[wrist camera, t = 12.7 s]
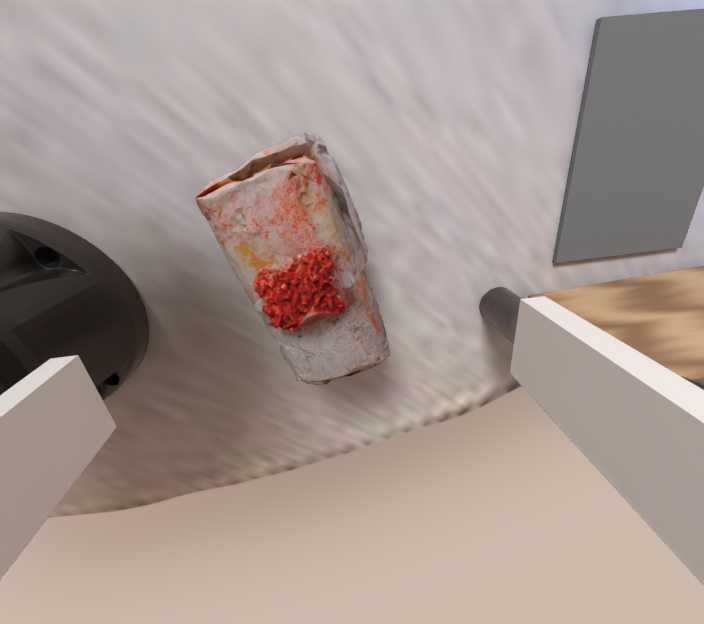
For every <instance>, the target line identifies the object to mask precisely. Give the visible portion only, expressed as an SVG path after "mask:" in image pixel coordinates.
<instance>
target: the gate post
mask: <svg viewBox="0 0 704 624" xmlns="http://www.w3.org/2000/svg"><path fill="white" fill-rule="evenodd" d="M520 299H522V298H520V297H519V296H517V295H516V294H514V293H513V292H511V291H510V290H508V289H507V288H503V287H497V288H494V289H491V290H490V291H488V292H487V293H486V294H485V295H484V296H483V297H482V299H481V302H480V312H481V314H482V315H483V316H484V317H485V318H486V319H487V320H488V321H490V322H491V323H492V324H493V325H494V326H495V327H496V328H497V329H498V330H499V331H500V332H501V333H503V334H504V335H505V336H506V337H507V338H508V339H509V340H510V341H511V342H512V343H513V344H514V340H515V333H516V326H517V319H518V312H519V305H520Z"/></svg>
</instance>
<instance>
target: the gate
mask: <svg viewBox="0 0 704 624" xmlns="http://www.w3.org/2000/svg"><path fill="white" fill-rule="evenodd" d="M541 296H545V297H547V298H549V299H550V300H552V301H554V302H555V303H557V304H559V305H560V306H562V307H564V308H566V309H567V310H569V311H571V312H572V313H574V314H576V315H577V316H579V317H581V318H582V319H584V320H586V321H588V322H589V323H591V324H593V325H594V326H596V327H598V328H599V329H601V330H603V331H604V332H606V333H608V334H610V335H611V336H613V337H615V338H616V339H618V340H620V341H621V342H623V343H625V344H627V345H628V346H630V347H632V348H633V349H635V350H637V351H638V352H640V353H642V354H643V355H645V356H647V357H649V358H650V359H652V360H654V361H655V362H657V363H659V364H660V365H662V366H664V367H665V368H667V369H669V370H671V371H672V372H674V373H676V374H677V375H679V376H683V377H685V378H688V379H690V380H693V381H695V382H698V383H701V384H703V385H704V266H701V267H695V268H689V269H683V270H677V271H671V272H665V273H660V274H654V275H648V276H642V277H636V278H630V279H624V280H618V281H612V282H607V283H601V284H595V285H589V286H583V287H577V288H571V289H565V290H559V291H553V292H548V293H542V294H536V295H530V296H529V297H528V298H533V297H541Z"/></svg>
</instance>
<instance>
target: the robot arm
mask: <svg viewBox="0 0 704 624" xmlns="http://www.w3.org/2000/svg"><path fill="white" fill-rule="evenodd" d="M147 343H148V322H147V317H146V313H145V310H144V307H143V304H142V302H141V300H140V297H139V296H138V294H137V292H136V290H135V288H134V287H133V285H132V284H131V282H130V281H129V280H128V278H127V277H126V276H125V274H124V273H123V272H122V271H121V270H120V269H119V267H118V266H117V265H116V264H115V263H114V262H113V261H112V260H111V259H110V258H108V257H107V256H106V255H105V254H104V253H103V252H101V251H100V250H99V249H97V248H96V247H95V246H94V245H92V244H91V243H89V242H88V241H86V240H85V239H83V238H81V237H80V236H78V235H76V234H74V233H72V232H70V231H69V230H67V229H64V228H62V227H60V226H58V225H55V224H53V223H50V222H47V221H44V220H41V219H38V218H34V217H31V216H26V215H22V214H16V213H8V212H0V579H1V578H2V577H3V576H4V574H5V573H6V572H7V571H8V569H9V568H10V567H11V565H12V564H13V563H14V561H15V560H16V559H17V557H18V556H19V554H20V553H21V552H22V551H23V549H24V548H25V547H26V546H27V544H28V543H29V542H30V540H31V539H32V538H33V536H34V535H35V534H36V532H37V531H38V530H39V529H40V527H41V526H42V524H43V523H44V522H45V521H46V519H47V518H48V517H49V515H50V514H51V513H52V511H53V510H54V509H55V508H56V506H57V505H58V504H59V502H60V501H61V500H62V498H63V497H64V496H65V494H66V493H67V492H68V490H69V489H70V488H71V487H72V485H73V484H74V483H75V481H76V480H77V479H78V477H79V476H80V475H81V473H82V472H83V471H84V469H85V468H86V467H87V466H88V464H89V463H90V462H91V460H92V459H93V458H94V456H95V455H96V454H97V452H98V451H99V450H100V448H101V447H102V446H103V445H104V443H105V442H106V441H107V439H108V438H109V437H110V435H111V434H112V433H113V431H114V430H115V429H116V427H117V426H116V424H115V422H114V420H113V419H112V417H111V415H110V413H109V411H108V409H107V407H106V406H105V404H104V402H103V400H104V399H106V398H107V397H109V396H110V395H111V394H113V393H114V392H115V391H116V390H118V389H119V388H120V387H121V386H122V385H123V383H124V382H125V381H126V380H127V379H128V378H129V377H130V375H131V374H132V373H133V372H134V371H135V370H136V368H137V367H138V366H139V364H140V363H141V361H142V359H143V357H144V354H145V352H146V348H147ZM510 374H511V375H512V376H513V377H514V378H515V379H516V380H517V381H518V382H519V384H520V385H521V386H522V387H523V388H524V389H525V390H526V391H527V392H528V393H529V395H531V397H532V398H533V399H534V400H535V401H536V402H537V403H538V404H539V406H540V407H541V408H542V409H543V410H544V411H545V412H546V413H547V414H548V415H549V416H550V418H551V419H552V420H553V421H554V422H555V423H556V424H557V425H558V426H559V427H560V428H561V430H562V431H563V432H564V433H565V434H566V435H567V436H568V437H569V438H570V439H571V441H572V442H573V443H574V444H575V445H576V446H577V447H578V448H579V449H580V450H581V452H582V453H583V454H584V455H585V456H586V457H587V458H588V459H589V460H590V461H591V463H592V464H593V465H594V466H595V467H596V468H597V469H598V470H599V471H600V473H601V474H602V475H603V476H604V477H605V478H606V479H607V480H608V481H609V482H610V484H611V485H612V486H613V487H614V488H615V489H616V490H617V491H618V492H619V493H620V494H621V495H622V497H623V498H624V499H625V500H626V501H627V502H628V503H629V504H630V505H631V506H632V508H633V509H634V510H635V511H636V512H637V513H638V514H639V515H640V516H641V518H642V519H643V520H644V521H645V522H646V523H647V524H648V525H649V526H650V527H651V529H652V530H653V531H654V532H655V533H656V534H657V535H658V536H659V537H660V538H661V539H662V541H663V542H664V543H665V544H666V545H667V546H668V547H669V548H670V549H671V551H672V552H673V553H674V554H675V555H676V556H677V557H678V558H679V559H680V560H681V561H682V563H683V564H684V565H685V566H686V567H687V568H688V569H689V570H690V571H691V572H692V574H693V575H694V576H695V577H696V578H697V579H698V580H699V581H700V582H701V583H702V585H703V586H704V385H703V384H701V383H698V382H695V381H693V380H690V379H688V378H685V377H683V376H679V375H677V374H676V373H674V372H672V371H671V370H669V369H667V368H665V367H664V366H662V365H660V364H659V363H657V362H655V361H654V360H652V359H650V358H649V357H647V356H645V355H643V354H642V353H640V352H638V351H637V350H635V349H633V348H632V347H630V346H628V345H627V344H625V343H623V342H621V341H620V340H618V339H616V338H615V337H613V336H611V335H610V334H608V333H606V332H604V331H603V330H601V329H599V328H598V327H596V326H594V325H593V324H591V323H589V322H588V321H586V320H584V319H582V318H581V317H579V316H577V315H576V314H574V313H572V312H571V311H569V310H567V309H566V308H564V307H562V306H560V305H559V304H557V303H555V302H554V301H552V300H550V299H549V298H547V297H545V296H541V297H533V298H525V299H520V305H519V312H518V319H517V326H516V333H515V340H514V347H513V354H512V361H511V368H510Z"/></svg>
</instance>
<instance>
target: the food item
mask: <svg viewBox="0 0 704 624" xmlns="http://www.w3.org/2000/svg"><path fill="white" fill-rule="evenodd" d="M196 201H197V205H198V207H199V208H200V210H201V212H202V214H203V215H204V216H205V217H206V219H207V221H208V223H209V225H210V226H211V228H212V230H213V232H214V234H215V236H216V239H217V241H218V242H219V244H220V246H221V248H222V250H223V252H224V253H225V255H226V257H227V259H228V261H229V263H230V265H231V266H232V268H233V270H234V272H235V274H236V276H237V278H238V279H239V281H240V282H241V284H242V285H243V287H244V289H245V291H246V293H247V294H248V296H249V298H250V299H251V301H252V302H253V303H254V306H255V310H257V311H258V312H259V314H260V315H261V316H262V318H263V321H264V322H265V324H266V326H267V328H268V330H269V331H270V332H271V334H272V335H273V336H274V338H275V339H276V341H277V343H278V344H279V345H280V350H281V353H282V355H283V357H284V359H285V360H286V361H287V362H288V363H289V364H290V366H291V367H292V369H293V371H294V373H295V375H296V379H297V381H300V380H301V381H304V382H306V383H308V384H316V385H320V384H328V383H329V382H330V381H331V380H332V379H335V378H341V377H345V376H351V375H354V374H357V373H359V372H362V371H364V370H366V369H369V368H372V367H374V366H376V365H378V364H379V363H381V362H382V361H384V360H385V359H386V358H387V357H388V356H389V355H390V352H389V345H388V341H387V337H386V331H385V327H384V325H383V320H382V318H381V316H380V313H379V306H378V304H377V302H376V300H375V298H374V296H373V294H372V289H371V288H370V287H369V283H368V281H367V280H366V275H365V272H364V268H365V263H366V261H367V254H368V252H367V246H366V243H365V241H364V236H363V234H362V231H361V222H360V219H359V216H358V213H357V211H356V209H355V208H354V205H353V202H352V199H351V196H350V194H349V192H348V189H347V187H346V184H345V182H344V180H343V178H342V175H341V172H340V171H339V169H338V167H337V164H336V162H335V160H334V158H333V157H332V156H331V155H330V154H329V153H328V152H327V149H326V144H325V142H324V141H323V140H322V139H321V138H320V137H318V136H316V135H313V134H312V135H308V134H306V133H301V134H299V135H297V136H294V137H292V138H290V139H288V140H286V141H284V142H282V143H279V144H276V145H273V146H271V147H269V148H267V149H264V150H262V151H260V152H258V153H256V154H255V155H254V156H253V157H251V158H250V159H249V160H248V161H247V162H246V163H244V164H243V165H242V166H241V167H240V168H239V169H238V170H236V171H232V172H230V173H228V174H226V175H223V176H221V177H219V178H217V179H214V180H212V181H210V182H209V183H208V184H207V185H206V186H205V187H204V188H203V189H202V190H201V192H200V193H199V194H198V195H197V197H196ZM366 252H367V254H366Z"/></svg>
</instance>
